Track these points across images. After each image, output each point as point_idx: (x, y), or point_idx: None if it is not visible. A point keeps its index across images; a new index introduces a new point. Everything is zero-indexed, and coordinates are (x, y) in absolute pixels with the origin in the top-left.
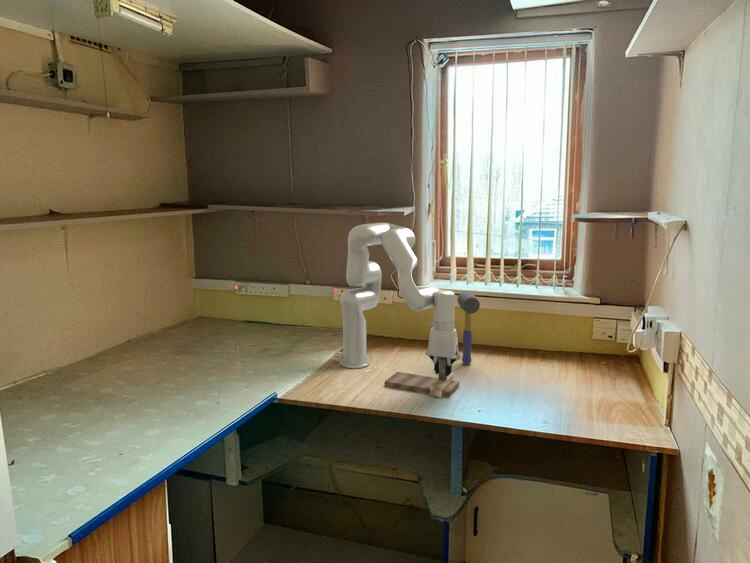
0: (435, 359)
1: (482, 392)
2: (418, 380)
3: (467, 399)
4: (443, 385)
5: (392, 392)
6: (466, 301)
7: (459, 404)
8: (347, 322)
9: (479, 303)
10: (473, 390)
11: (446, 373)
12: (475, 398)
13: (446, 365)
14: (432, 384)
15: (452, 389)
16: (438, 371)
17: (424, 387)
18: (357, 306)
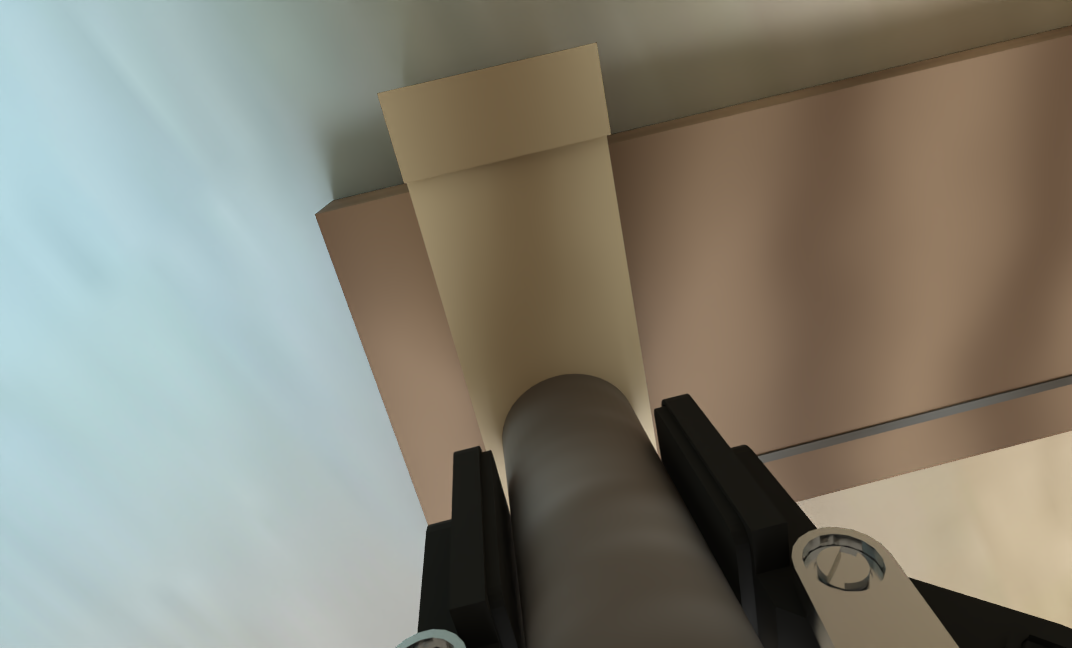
0: (871, 634)
1: (154, 566)
2: (886, 317)
3: (116, 295)
4: (428, 247)
5: None
6: None
7: (52, 65)
8: None
9: None
10: (266, 552)
11: (477, 470)
12: (71, 383)
13: (506, 615)
14: (544, 57)
15: (367, 350)
16: (659, 461)
17: (710, 142)
18: None
